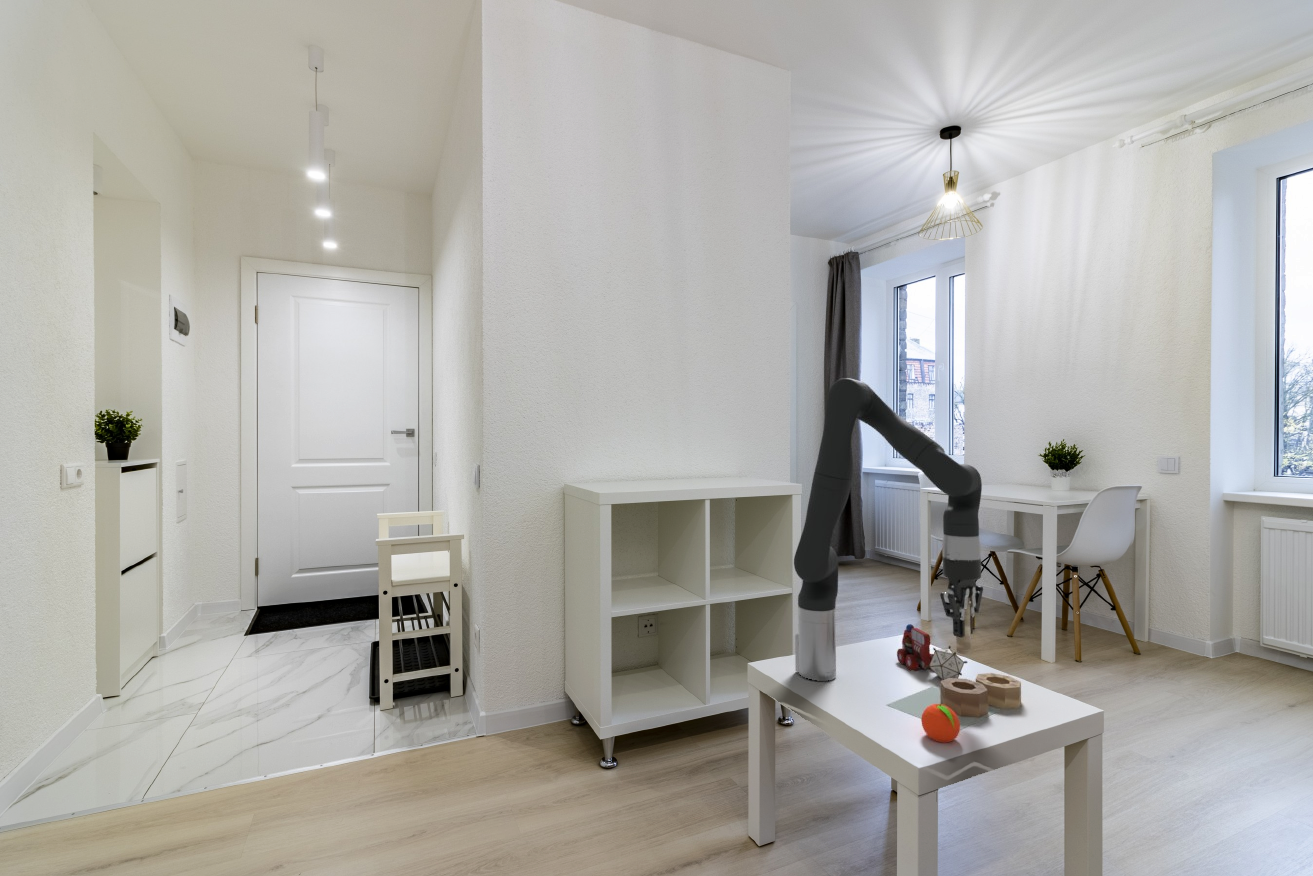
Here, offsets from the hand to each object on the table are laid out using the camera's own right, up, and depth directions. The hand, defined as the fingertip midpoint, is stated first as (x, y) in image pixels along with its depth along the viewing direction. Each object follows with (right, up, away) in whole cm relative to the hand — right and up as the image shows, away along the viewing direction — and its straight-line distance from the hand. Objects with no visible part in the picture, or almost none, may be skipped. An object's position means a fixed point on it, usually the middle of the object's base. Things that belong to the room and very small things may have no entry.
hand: (963, 634), depth 135 cm
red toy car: (+1, -17, +27) cm, 33 cm away
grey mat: (-4, -17, 0) cm, 17 cm away
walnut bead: (0, -16, 0) cm, 16 cm away
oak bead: (+10, -17, +4) cm, 20 cm away
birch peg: (0, -4, 0) cm, 4 cm away
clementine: (-11, -17, -14) cm, 25 cm away
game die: (+5, -17, +18) cm, 25 cm away
